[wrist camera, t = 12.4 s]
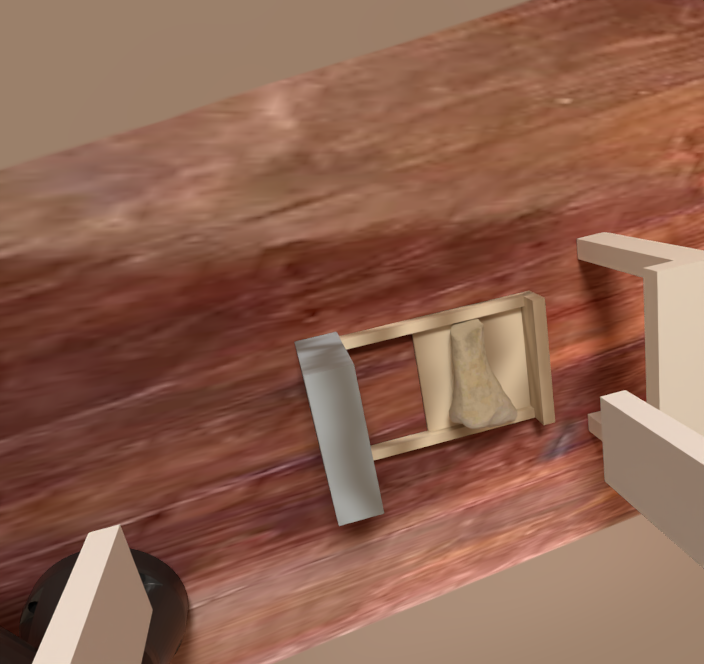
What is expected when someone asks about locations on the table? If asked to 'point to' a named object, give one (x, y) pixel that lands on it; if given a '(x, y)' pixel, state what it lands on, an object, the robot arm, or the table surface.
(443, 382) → the rock display tray
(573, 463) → the table surface
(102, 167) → the table surface
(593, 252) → the shelf
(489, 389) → the stone
